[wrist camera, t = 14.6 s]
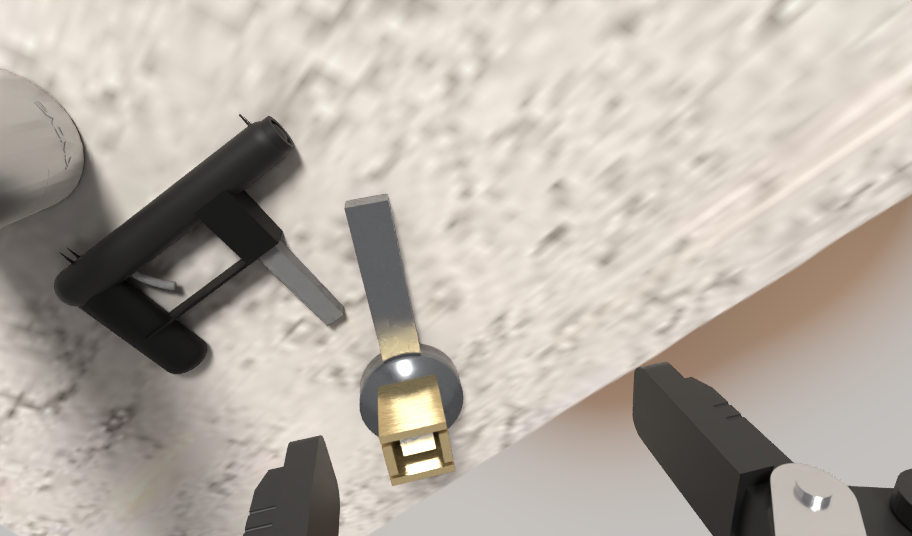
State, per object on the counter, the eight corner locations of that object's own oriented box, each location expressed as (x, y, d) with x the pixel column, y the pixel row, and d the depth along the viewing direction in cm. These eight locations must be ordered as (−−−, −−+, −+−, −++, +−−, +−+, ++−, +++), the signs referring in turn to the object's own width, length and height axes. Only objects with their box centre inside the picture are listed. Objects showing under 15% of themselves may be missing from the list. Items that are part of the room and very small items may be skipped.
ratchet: (372, 434, 45) (372, 494, 39) (307, 208, 36) (294, 238, 30) (464, 412, 46) (479, 468, 40) (424, 186, 37) (435, 211, 30)
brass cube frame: (389, 431, 42) (392, 486, 37) (377, 386, 40) (378, 437, 35) (444, 419, 43) (455, 470, 37) (435, 374, 41) (445, 421, 35)
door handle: (402, 277, 37) (249, 100, 30) (207, 415, 39) (18, 282, 32) (398, 260, 40) (258, 95, 33) (217, 389, 42) (46, 261, 35)
